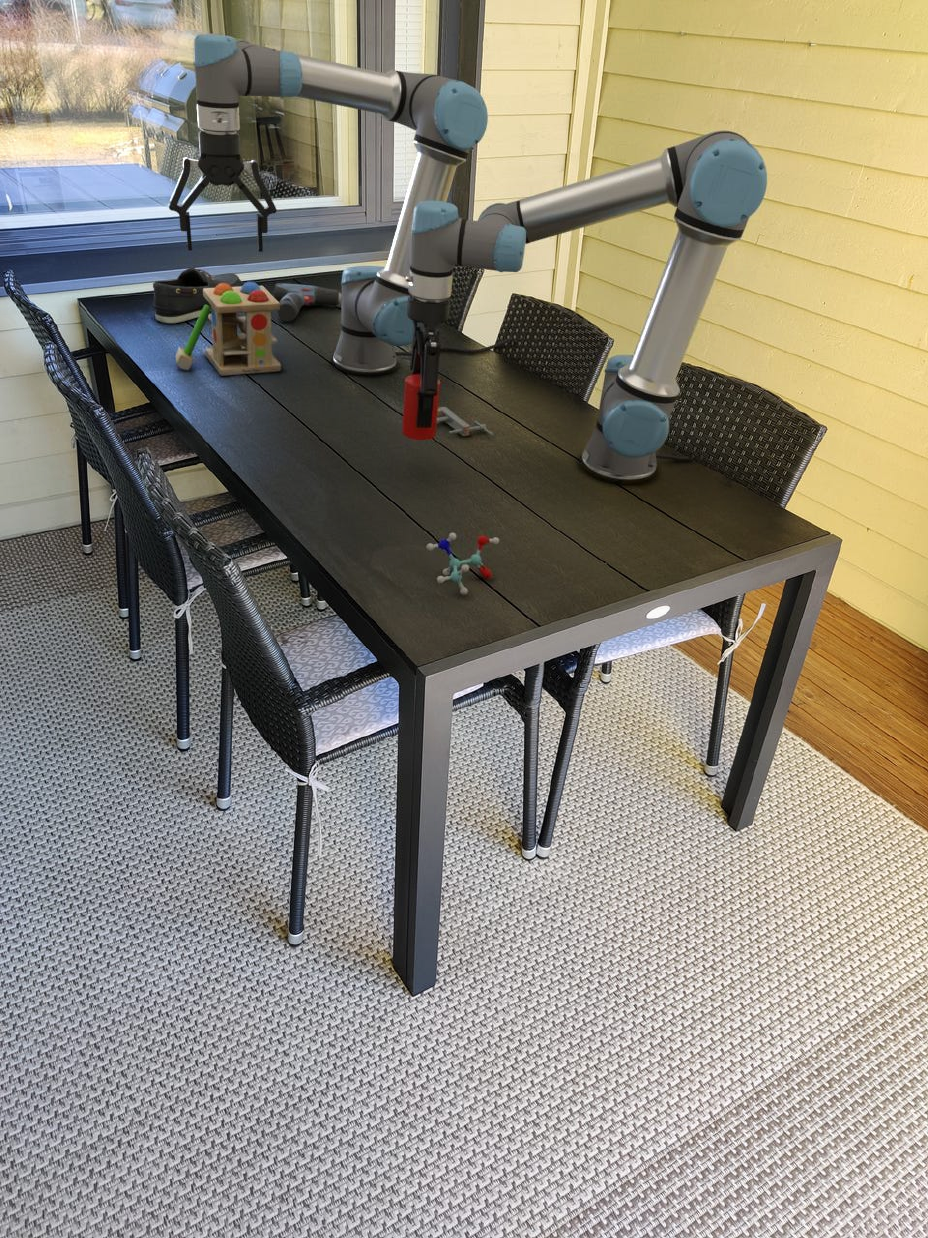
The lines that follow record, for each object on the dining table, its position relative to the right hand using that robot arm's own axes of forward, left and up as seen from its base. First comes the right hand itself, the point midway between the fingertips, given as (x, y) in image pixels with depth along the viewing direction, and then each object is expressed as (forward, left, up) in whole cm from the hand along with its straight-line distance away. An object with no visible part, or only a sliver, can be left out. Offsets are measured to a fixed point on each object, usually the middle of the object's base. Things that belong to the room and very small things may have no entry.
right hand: (420, 418), depth 186 cm
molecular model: (0, +40, -11) cm, 41 cm away
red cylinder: (0, 0, -3) cm, 3 cm away
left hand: (+34, -35, +21) cm, 53 cm away
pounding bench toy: (+35, -58, -11) cm, 69 cm away
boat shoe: (+41, -101, -11) cm, 110 cm away
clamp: (-12, -20, -11) cm, 26 cm away
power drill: (+13, -98, -11) cm, 100 cm away
